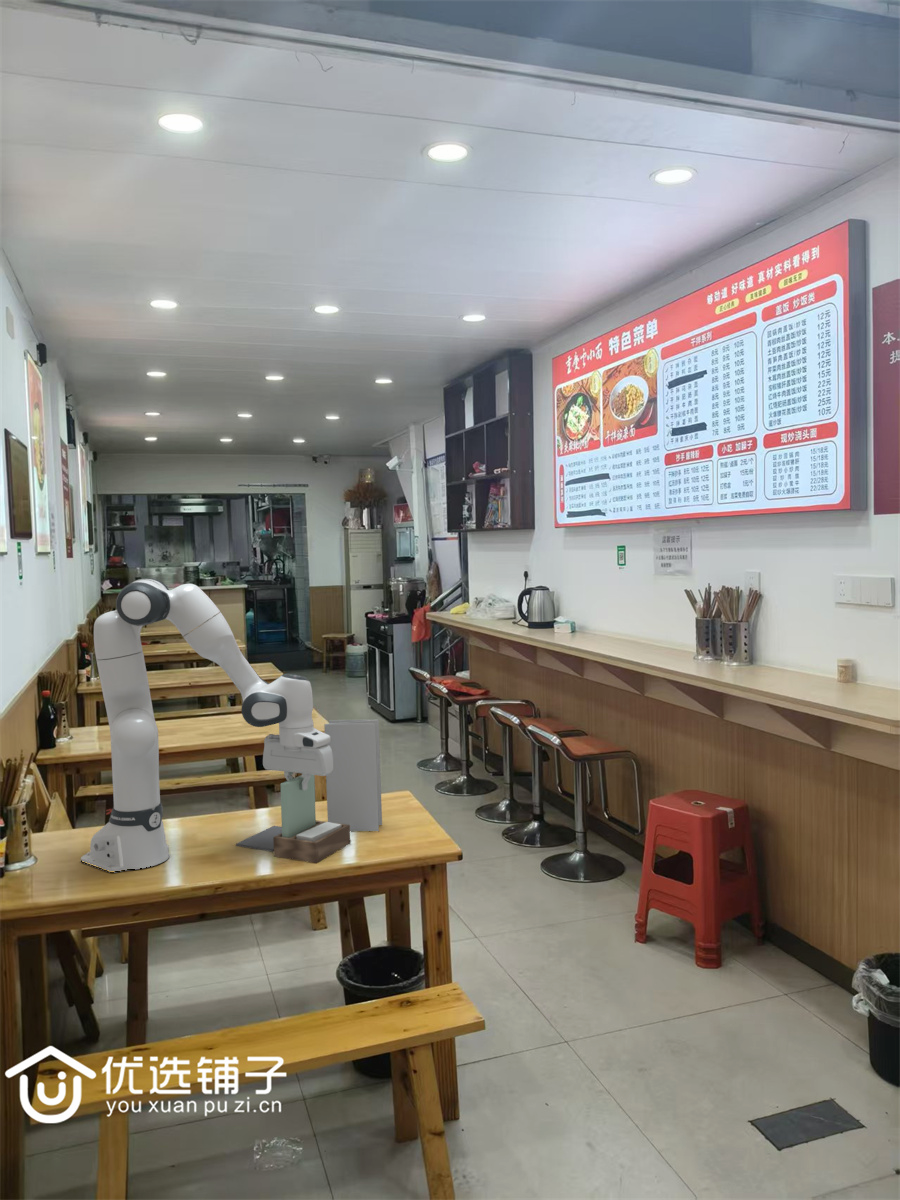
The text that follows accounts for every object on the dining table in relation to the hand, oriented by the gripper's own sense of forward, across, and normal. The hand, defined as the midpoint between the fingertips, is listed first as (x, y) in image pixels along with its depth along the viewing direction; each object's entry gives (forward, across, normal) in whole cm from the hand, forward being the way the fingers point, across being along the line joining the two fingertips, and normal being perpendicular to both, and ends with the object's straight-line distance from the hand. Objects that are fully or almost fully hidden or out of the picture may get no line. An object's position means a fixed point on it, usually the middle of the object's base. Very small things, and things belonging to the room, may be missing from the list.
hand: (298, 789), depth 222 cm
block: (+13, 0, 0) cm, 13 cm away
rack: (+16, +4, 0) cm, 16 cm away
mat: (+16, -11, +3) cm, 19 cm away
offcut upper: (+13, +6, 0) cm, 14 cm away
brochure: (+16, +5, +19) cm, 25 cm away
